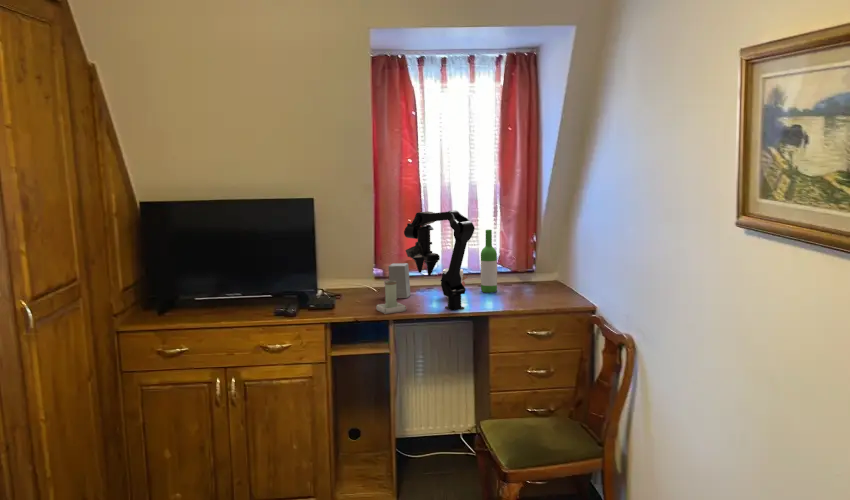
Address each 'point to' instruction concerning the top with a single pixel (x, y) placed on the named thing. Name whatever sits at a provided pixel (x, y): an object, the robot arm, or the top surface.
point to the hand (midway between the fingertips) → (424, 274)
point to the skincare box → (400, 279)
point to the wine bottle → (488, 266)
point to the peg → (390, 294)
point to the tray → (385, 310)
